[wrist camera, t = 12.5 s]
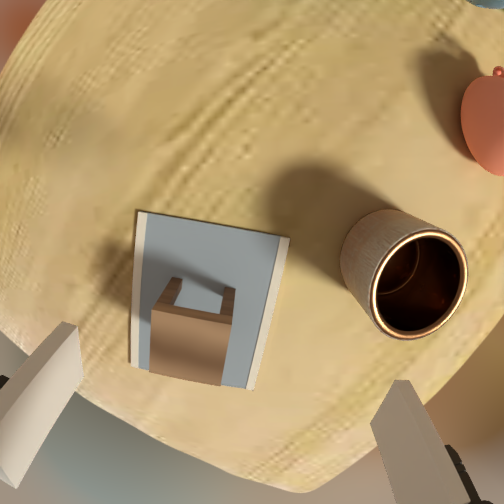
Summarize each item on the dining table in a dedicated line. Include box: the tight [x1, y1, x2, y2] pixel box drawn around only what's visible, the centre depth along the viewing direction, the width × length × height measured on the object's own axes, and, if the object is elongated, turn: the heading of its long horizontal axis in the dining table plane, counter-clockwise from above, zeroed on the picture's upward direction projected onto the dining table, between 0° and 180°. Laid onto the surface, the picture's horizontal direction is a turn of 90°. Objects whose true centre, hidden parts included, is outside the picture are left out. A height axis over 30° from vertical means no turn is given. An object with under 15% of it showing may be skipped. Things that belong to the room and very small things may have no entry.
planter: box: [340, 209, 468, 341], centre depth 29 cm, size 11×11×10 cm
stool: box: [149, 277, 236, 386], centre depth 31 cm, size 7×7×8 cm
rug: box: [131, 211, 290, 390], centre depth 35 cm, size 20×16×1 cm
